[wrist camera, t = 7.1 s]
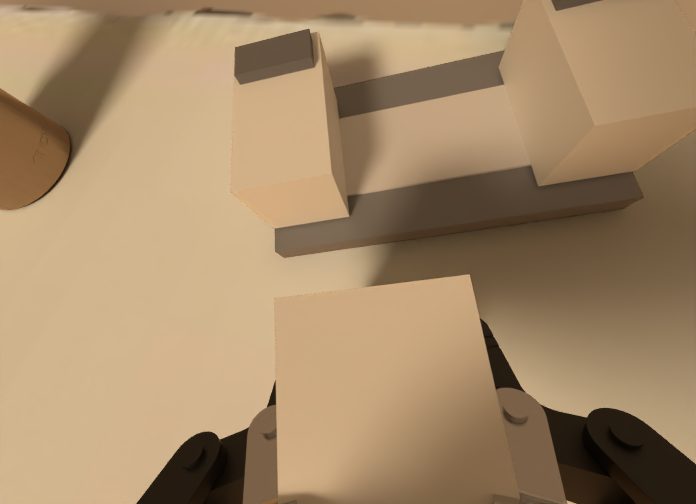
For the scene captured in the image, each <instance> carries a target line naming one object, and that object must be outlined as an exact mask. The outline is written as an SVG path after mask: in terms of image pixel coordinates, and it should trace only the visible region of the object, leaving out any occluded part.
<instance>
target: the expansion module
mask: <svg viewBox="0 0 696 504" xmlns="http://www.w3.org/2000/svg"><path fill="white" fill-rule="evenodd" d="M274 318H275V368H276V419H277V469H278V504H283V503H286V502H289V501H293V500H297V504H493V494H497V495H502V496H507V497H512V498H517V499H520V495H519V491H518V486H517V482H516V478H515V473H514V469H513V464H512V460H511V455H510V451H509V447H508V442H507V438H506V433H505V429H504V424H503V420H502V415H501V411H500V407H499V402H498V398H497V393H496V389H495V384H494V380H493V376H492V371H491V367H490V362H489V358H488V353H487V349H486V345H485V340H484V336H483V331H482V327H481V322H480V318H479V314H478V309H477V305H476V300H475V296H474V291H473V287H472V283H471V278H470V274H468V275H460V276H452V277H444V278H436V279H428V280H420V281H411V282H403V283H395V284H387V285H379V286H371V287H363V288H355V289H347V290H338V291H330V292H322V293H314V294H306V295H298V296H290V297H282V298H274Z"/></svg>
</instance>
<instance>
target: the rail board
mask: <svg viewBox="0 0 696 504" xmlns="http://www.w3.org/2000/svg"><path fill="white" fill-rule="evenodd" d="M695 129H696V33H695V31H694V29H693V28H692V26H691V25H690V23H689V22H688V20H687V18H686V17H685V16H684V14H683V12H682V10H681V9H680V7H679V6H678V4H677V2H676V1H675V0H523V3H522V6H521V8H520V11H519V14H518V16H517V19H516V22H515V24H514V27H513V30H512V32H511V35H510V38H509V40H508V43H507V46H506V48H505V50H504V51H499V52H495V53H490V54H486V55H481V56H477V57H472V58H468V59H463V60H459V61H454V62H450V63H445V64H441V65H436V66H432V67H427V68H423V69H418V70H414V71H409V72H405V73H400V74H396V75H391V76H387V77H382V78H378V79H373V80H369V81H364V82H360V83H355V84H351V85H346V86H342V87H337V88H333V84H332V80H331V76H330V72H329V69H328V65H327V61H326V57H325V53H324V50H323V46H322V42H321V38H320V34H319V32H315V33H311V34H310V30H309V29H306V30H302V31H298V32H294V33H290V34H286V35H282V36H278V37H274V38H270V39H266V40H262V41H258V42H255V43H251V44H247V45H243V46H239V47H235V53H234V85H233V121H232V156H231V191H230V192H231V193H232V194H233V195H235V196H236V197H237V198H238V199H239V200H240V201H242V202H243V203H244V204H245V205H246V206H247V207H249V208H250V209H251V210H252V211H253V212H254V213H256V214H257V215H258V216H259V217H260V218H262V219H263V220H264V221H265V222H266V223H267V224H269V225H270V226H271V227H272V228H273V229H275V252H276V253H278V254H279V255H281V256H282V257H284V258H286V257H293V256H300V255H307V254H314V253H321V252H327V251H334V250H341V249H348V248H355V247H362V246H369V245H376V244H383V243H390V242H396V241H403V240H410V239H417V238H424V237H431V236H438V235H445V234H452V233H459V232H466V231H472V230H479V229H486V228H493V227H500V226H507V225H514V224H521V223H528V222H535V221H541V220H548V219H555V218H562V217H569V216H576V215H583V214H590V213H597V212H604V211H611V210H617V209H623V208H625V207H627V206H629V205H630V204H632V203H634V202H636V201H637V200H639V199H641V198H643V195H642V192H641V190H640V188H639V186H638V183H637V181H636V179H635V177H634V175H633V172H632V171H636V170H638V169H639V168H640V167H642V166H643V165H645V164H646V163H648V162H649V161H651V160H652V159H653V158H655V157H656V156H658V155H659V154H661V153H662V152H664V151H665V150H666V149H668V148H669V147H671V146H672V145H674V144H675V143H676V142H678V141H679V140H681V139H682V138H684V137H685V136H687V135H688V134H689V133H691V132H692V131H694V130H695Z"/></svg>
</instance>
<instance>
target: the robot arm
mask: <svg viewBox="0 0 696 504" xmlns="http://www.w3.org/2000/svg"><path fill="white" fill-rule="evenodd" d="M69 152H70V140H69V137H68V134H67V132H66V131H65V130H64V129H63V127H61V126H60V125H58V124H56V123H55V122H53V121H52V120H50V119H48V118H47V117H45V116H43V115H42V114H40V113H39V112H37V111H35V110H34V109H32V108H31V107H29V106H27V105H26V104H24V103H23V102H21V101H19V100H18V99H16V98H15V97H13V96H11V95H10V94H8V93H7V92H5V91H4V90H2V89H1V88H0V209H1V210H13V209H18V208H21V207H23V206H26V205H28V204H30V203H32V202H33V201H35V200H37V199H38V198H39V197H41V196H42V195H43V194H44V193H46V192H47V191H48V190H49V189H50V188H51V186H52V185H53V184H54V183H55V182H56V180H57V179H58V178H59V176H60V175H61V173H62V171H63V169H64V167H65V166H66V163H67V160H68V157H69ZM480 322H481V327H482V331H483V336H484V340H485V345H486V349H487V353H488V358H489V362H490V367H491V371H492V376H493V380H494V384H495V389H496V393H497V398H498V402H499V407H500V411H501V415H502V420H503V424H504V429H505V433H506V438H507V442H508V447H509V451H510V455H511V460H512V464H513V469H514V473H515V478H516V482H517V486H518V491H519V495H520V499H517V498H512V497H507V496H502V495H497V494H493V504H567V501H570V502H573V503H577V504H696V464H695V463H694V462H692V461H691V460H690V459H689V458H688V457H686V456H685V455H684V454H683V453H681V452H680V451H679V450H678V449H677V448H675V447H674V446H673V445H672V444H670V443H669V442H668V441H667V440H666V439H664V438H663V437H662V436H661V435H659V434H658V433H657V432H656V431H655V430H653V429H652V428H651V427H650V426H648V425H647V424H646V423H644V422H643V421H641V420H640V419H638V418H637V417H635V416H633V415H631V414H628V413H626V412H623V411H620V410H617V409H612V408H599V409H596V410H593V411H592V412H591V413H590V414H589V415H588V417H587V418H586V417H581V416H577V415H572V414H568V413H563V412H559V411H555V410H552V409H549V408H547V407H545V406H543V405H541V404H539V403H538V402H537V401H536V400H535V399H534V398H533V397H532V396H530V395H528V394H527V393H526V392H525V391H524V390H523V389H522V387H521V386H520V384H519V382H518V380H517V378H516V376H515V375H514V373H513V371H512V369H511V367H510V365H509V363H508V362H507V360H506V358H505V356H504V354H503V352H502V351H501V349H500V348H499V345H498V343H497V341H496V340H495V338H494V337H493V334H492V332H491V330H490V329H489V327H488V325H487V323H485V322H484V321H483V320H482V319H480ZM566 500H567V501H566ZM137 504H278V469H277V419H276V380H275V383H274V386H273V390H272V393H271V396H270V399H269V403H268V406H267V408H265V409H264V410H262V411H261V412H260V413H259V414H258V415H257V416H256V417H255V418H254V419H253V421H252V422H251V424H250V426H249V427H248V428H247V429H245V430H243V431H240V432H238V433H235V434H233V435H230V436H228V437H225V438H223V439H219V438H218V436H217V435H216V434H215V433H212V432H202V433H199V434H196V435H194V436H193V437H191V438H190V439H188V440H187V441H186V442H184V443H183V444H182V445H181V446H180V448H179V449H178V450H177V451H176V453H175V454H174V455H173V457H172V458H171V459H170V460H169V462H168V463H167V464H166V466H165V467H164V468H163V470H162V471H161V472H160V474H159V475H158V476H157V477H156V479H155V480H154V481H153V483H152V484H151V485H150V487H149V488H148V489H147V491H146V492H145V493H144V494H143V496H142V497H141V498H140V500H139V501H138V502H137ZM283 504H297V500H293V501H289V502H286V503H283Z"/></svg>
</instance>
